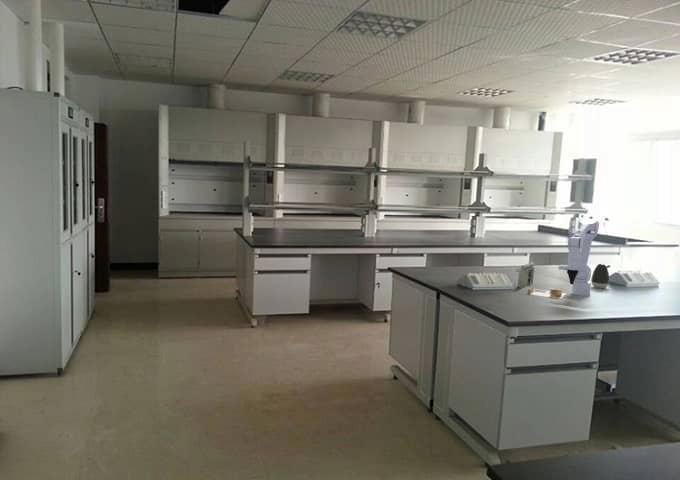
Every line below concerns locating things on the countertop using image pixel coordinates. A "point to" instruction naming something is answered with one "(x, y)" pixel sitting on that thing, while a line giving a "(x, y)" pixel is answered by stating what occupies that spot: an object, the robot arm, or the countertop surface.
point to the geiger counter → (526, 275)
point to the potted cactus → (600, 276)
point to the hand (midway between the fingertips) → (571, 284)
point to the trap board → (546, 294)
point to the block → (556, 292)
